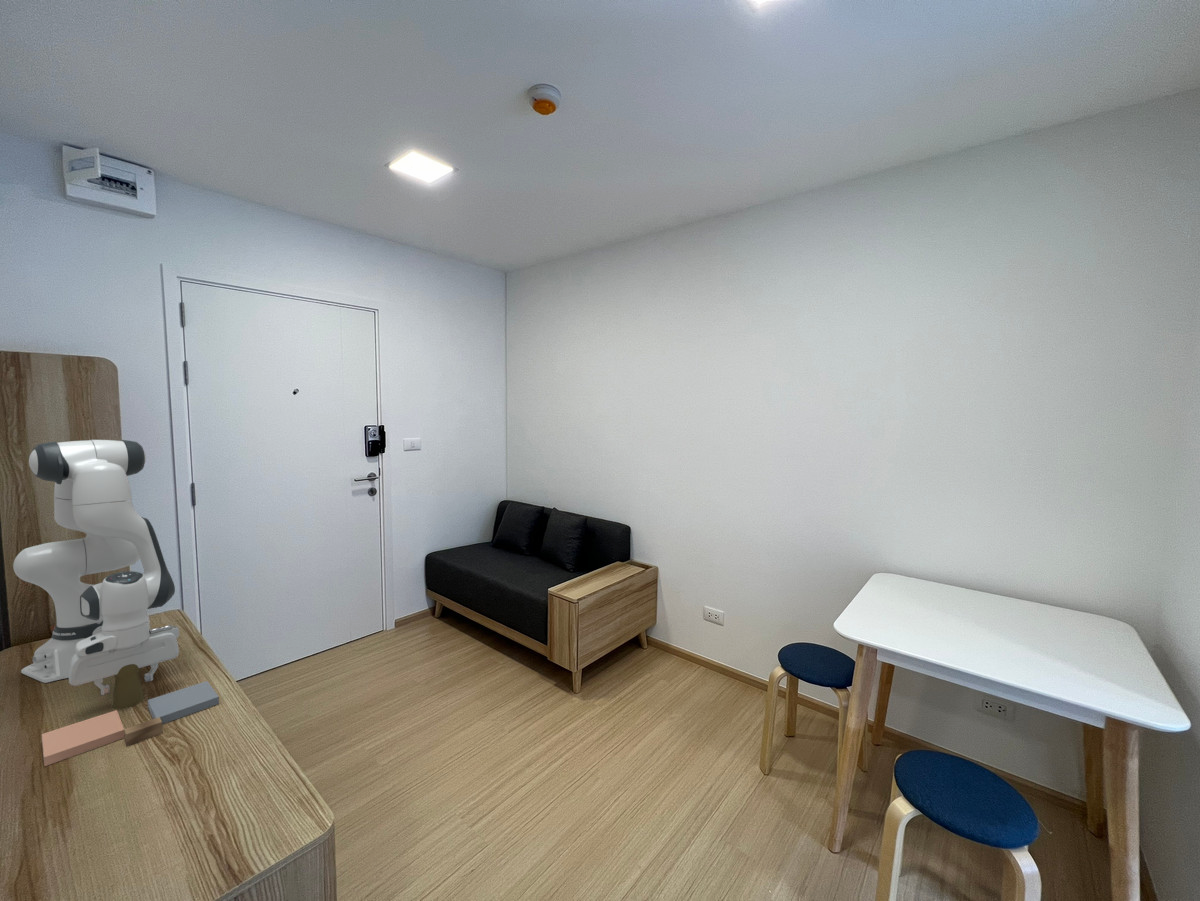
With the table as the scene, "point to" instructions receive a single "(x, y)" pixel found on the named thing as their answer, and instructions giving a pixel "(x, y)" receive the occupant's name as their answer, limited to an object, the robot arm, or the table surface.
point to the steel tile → (183, 702)
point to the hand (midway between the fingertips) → (127, 686)
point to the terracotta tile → (81, 737)
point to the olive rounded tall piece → (127, 687)
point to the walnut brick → (142, 731)
